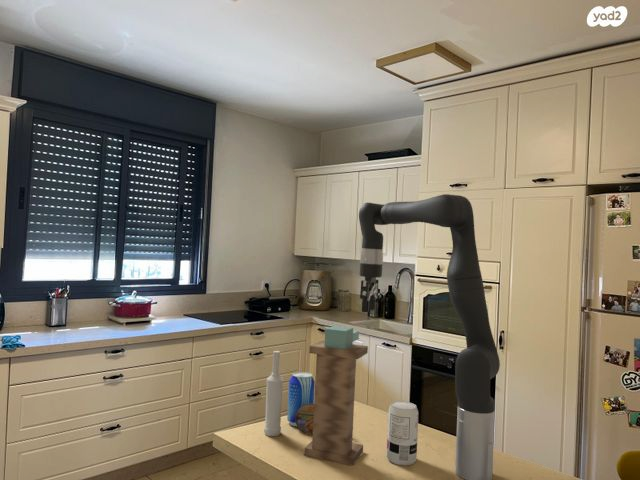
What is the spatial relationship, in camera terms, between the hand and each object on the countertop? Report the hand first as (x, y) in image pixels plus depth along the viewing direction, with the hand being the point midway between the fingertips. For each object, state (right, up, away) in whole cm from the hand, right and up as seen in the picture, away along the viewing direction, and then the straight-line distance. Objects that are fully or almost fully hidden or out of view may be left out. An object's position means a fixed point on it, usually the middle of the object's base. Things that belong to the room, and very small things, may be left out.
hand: (368, 311), depth 155 cm
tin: (-17, -37, -9) cm, 42 cm away
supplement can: (+6, -37, -27) cm, 46 cm away
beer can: (-23, -37, -3) cm, 43 cm away
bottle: (-31, -36, -12) cm, 49 cm away
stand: (-12, -36, -25) cm, 46 cm away
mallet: (-9, -7, -19) cm, 22 cm away
